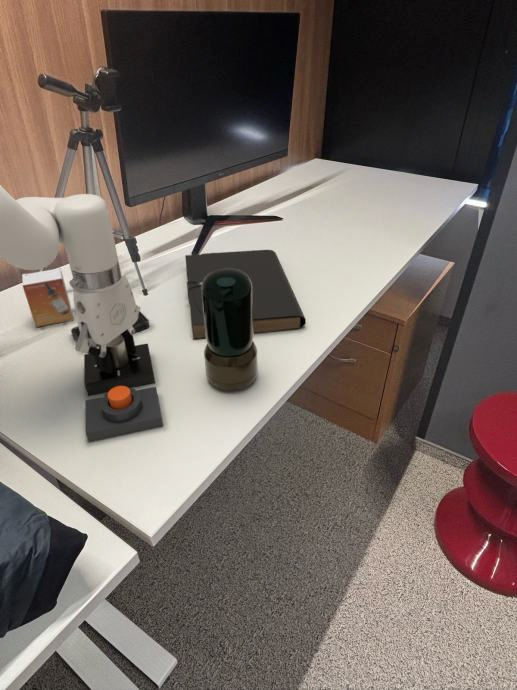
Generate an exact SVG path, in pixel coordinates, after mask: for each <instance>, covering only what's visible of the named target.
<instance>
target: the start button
mask: <svg viewBox="0 0 517 690" xmlns="http://www.w3.org/2000/svg"><path fill="white" fill-rule="evenodd" d="M108 399H109V403H110V406H111V407H112V408H113V409H123V408H126V407H128V406H129V405H130V404H131V403H132V397H131V392H130V389H129V388H128V387H126V386H117V387H114V388H112V389H111V390H110V391H109V392H108Z"/></svg>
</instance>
